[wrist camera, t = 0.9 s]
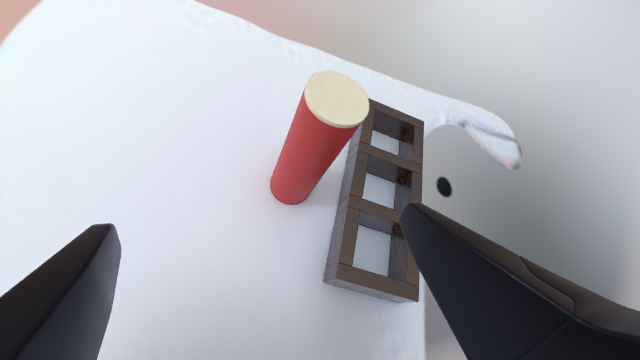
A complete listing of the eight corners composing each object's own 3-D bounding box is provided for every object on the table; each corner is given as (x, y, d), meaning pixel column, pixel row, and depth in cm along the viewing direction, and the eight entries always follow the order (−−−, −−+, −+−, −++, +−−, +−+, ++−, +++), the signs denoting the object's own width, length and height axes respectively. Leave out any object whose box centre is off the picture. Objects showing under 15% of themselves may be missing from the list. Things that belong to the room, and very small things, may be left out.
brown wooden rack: (398, 303, 24) (418, 302, 22) (322, 281, 23) (335, 278, 21) (408, 135, 34) (424, 121, 31) (355, 114, 32) (367, 97, 30)
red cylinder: (316, 196, 26) (381, 117, 16) (280, 210, 25) (325, 132, 14) (299, 163, 27) (349, 66, 17) (263, 174, 26) (293, 75, 15)
